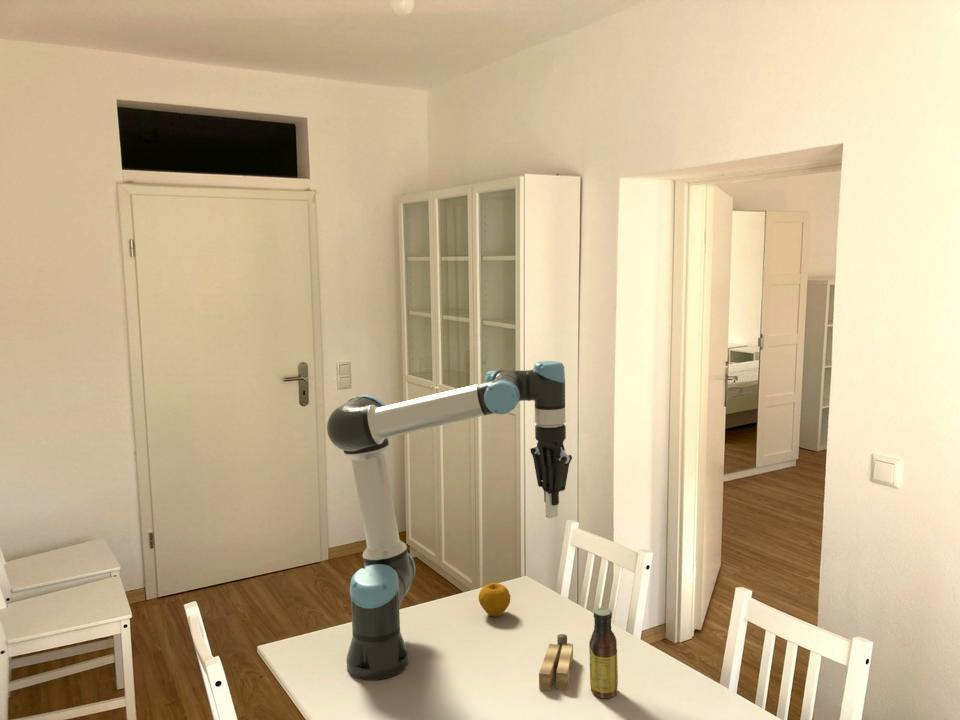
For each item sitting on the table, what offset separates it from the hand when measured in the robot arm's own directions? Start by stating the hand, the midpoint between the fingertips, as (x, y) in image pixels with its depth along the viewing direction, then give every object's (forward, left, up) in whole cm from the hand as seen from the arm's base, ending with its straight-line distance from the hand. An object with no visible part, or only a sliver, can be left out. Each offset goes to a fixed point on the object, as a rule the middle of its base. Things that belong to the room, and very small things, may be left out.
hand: (551, 516), depth 195 cm
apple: (-23, -6, -35) cm, 42 cm away
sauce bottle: (+24, 0, -35) cm, 42 cm away
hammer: (+12, -4, -34) cm, 36 cm away
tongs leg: (+12, -7, -34) cm, 37 cm away
